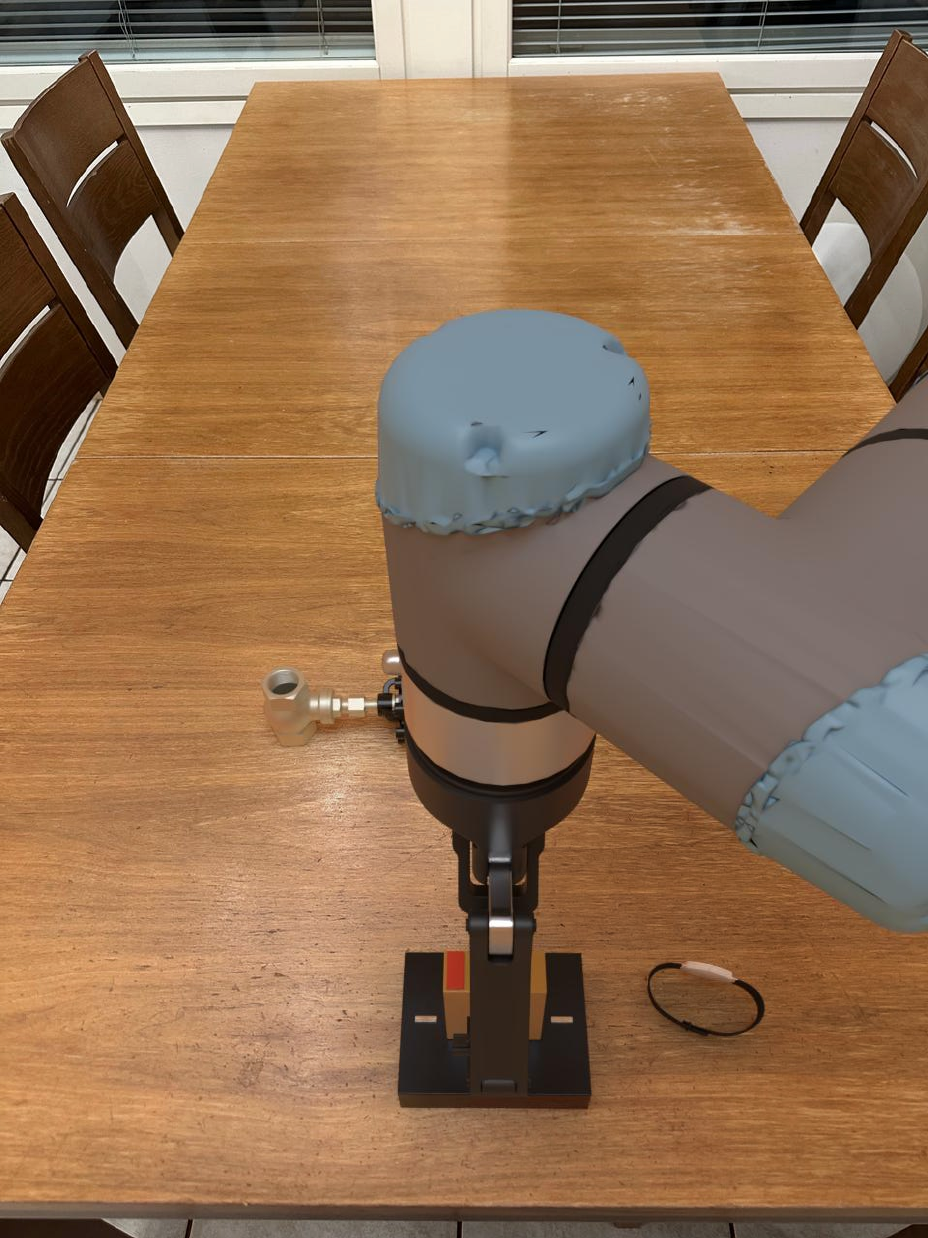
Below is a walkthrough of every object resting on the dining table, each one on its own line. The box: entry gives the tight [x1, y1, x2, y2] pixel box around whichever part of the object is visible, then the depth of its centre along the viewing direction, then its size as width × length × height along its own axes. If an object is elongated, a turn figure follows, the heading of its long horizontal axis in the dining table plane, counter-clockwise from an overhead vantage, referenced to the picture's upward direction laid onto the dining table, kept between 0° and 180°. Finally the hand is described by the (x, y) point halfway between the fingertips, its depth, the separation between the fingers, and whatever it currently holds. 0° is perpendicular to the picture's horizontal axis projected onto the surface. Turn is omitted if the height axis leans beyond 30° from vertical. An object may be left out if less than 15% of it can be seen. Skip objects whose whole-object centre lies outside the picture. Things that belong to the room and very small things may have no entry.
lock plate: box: [397, 951, 593, 1110], centre depth 62 cm, size 12×9×3 cm
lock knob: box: [443, 950, 547, 1040], centre depth 58 cm, size 6×2×8 cm, turn 90°
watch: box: [646, 960, 766, 1038], centre depth 63 cm, size 8×5×4 cm, turn 74°
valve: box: [259, 665, 406, 747], centre depth 78 cm, size 7×7×12 cm
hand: (493, 939), depth 52 cm, fingers open, 13 cm apart
